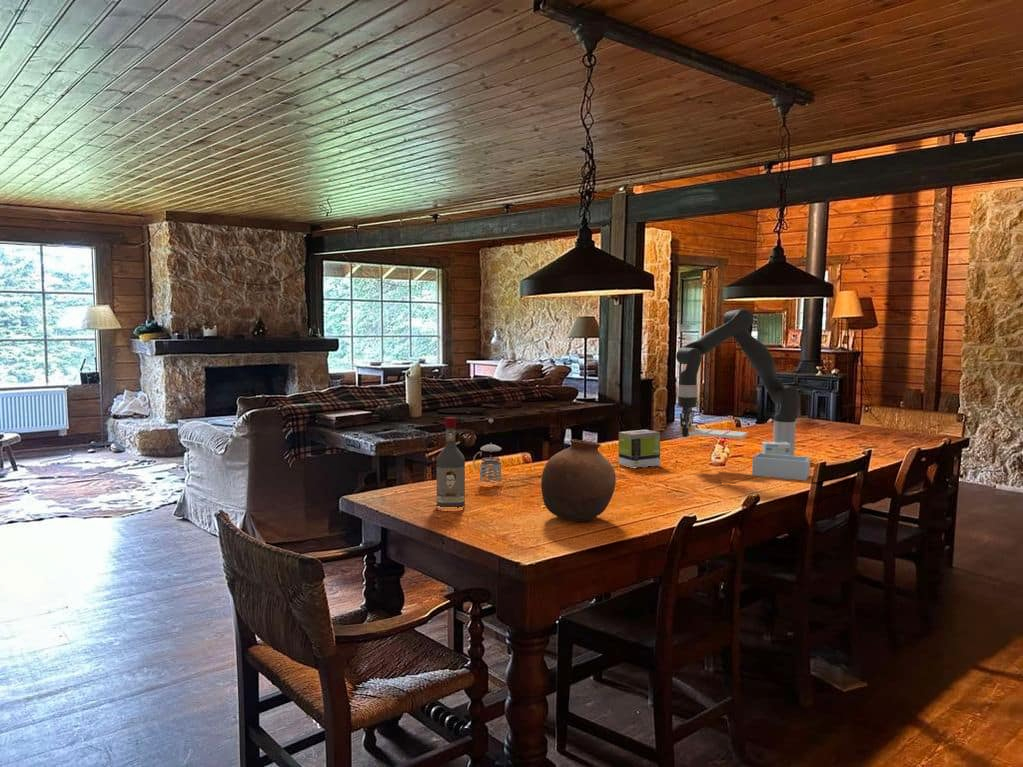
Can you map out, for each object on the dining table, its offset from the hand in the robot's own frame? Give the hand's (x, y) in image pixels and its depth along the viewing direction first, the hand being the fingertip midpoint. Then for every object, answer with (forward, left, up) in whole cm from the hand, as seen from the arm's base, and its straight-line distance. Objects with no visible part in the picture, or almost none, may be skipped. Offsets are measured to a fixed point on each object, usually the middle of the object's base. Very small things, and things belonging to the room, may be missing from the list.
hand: (686, 435), depth 312 cm
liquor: (+104, -50, -14) cm, 117 cm away
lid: (0, +11, +1) cm, 11 cm away
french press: (+67, -57, -14) cm, 89 cm away
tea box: (+4, -19, -14) cm, 24 cm away
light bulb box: (-20, +33, -14) cm, 41 cm away
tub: (0, +38, -14) cm, 40 cm away
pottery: (+96, -8, -14) cm, 98 cm away
